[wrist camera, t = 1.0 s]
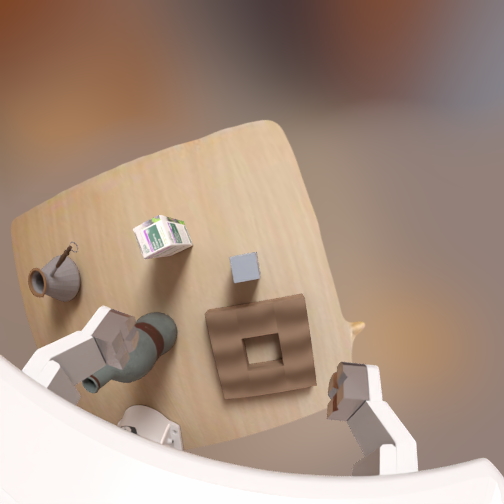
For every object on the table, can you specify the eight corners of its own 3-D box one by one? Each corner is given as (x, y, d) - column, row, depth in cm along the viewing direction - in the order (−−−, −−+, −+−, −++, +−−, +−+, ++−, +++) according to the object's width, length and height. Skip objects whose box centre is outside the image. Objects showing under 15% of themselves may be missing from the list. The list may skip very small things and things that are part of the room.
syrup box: (194, 245, 60) (172, 244, 45) (170, 256, 60) (143, 259, 45) (183, 220, 60) (159, 213, 45) (160, 232, 60) (131, 228, 45)
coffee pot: (65, 307, 61) (28, 318, 46) (48, 268, 61) (10, 272, 46) (120, 267, 60) (83, 272, 45) (100, 225, 60) (61, 220, 45)
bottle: (143, 346, 60) (71, 405, 30) (140, 308, 60) (58, 349, 30) (181, 349, 60) (124, 419, 30) (178, 310, 60) (112, 359, 30)
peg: (260, 273, 59) (259, 278, 49) (239, 277, 59) (234, 283, 49) (256, 251, 59) (255, 252, 49) (235, 255, 59) (229, 257, 49)
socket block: (313, 377, 59) (316, 385, 55) (227, 391, 60) (224, 399, 56) (301, 293, 59) (304, 296, 55) (208, 309, 60) (204, 313, 56)
